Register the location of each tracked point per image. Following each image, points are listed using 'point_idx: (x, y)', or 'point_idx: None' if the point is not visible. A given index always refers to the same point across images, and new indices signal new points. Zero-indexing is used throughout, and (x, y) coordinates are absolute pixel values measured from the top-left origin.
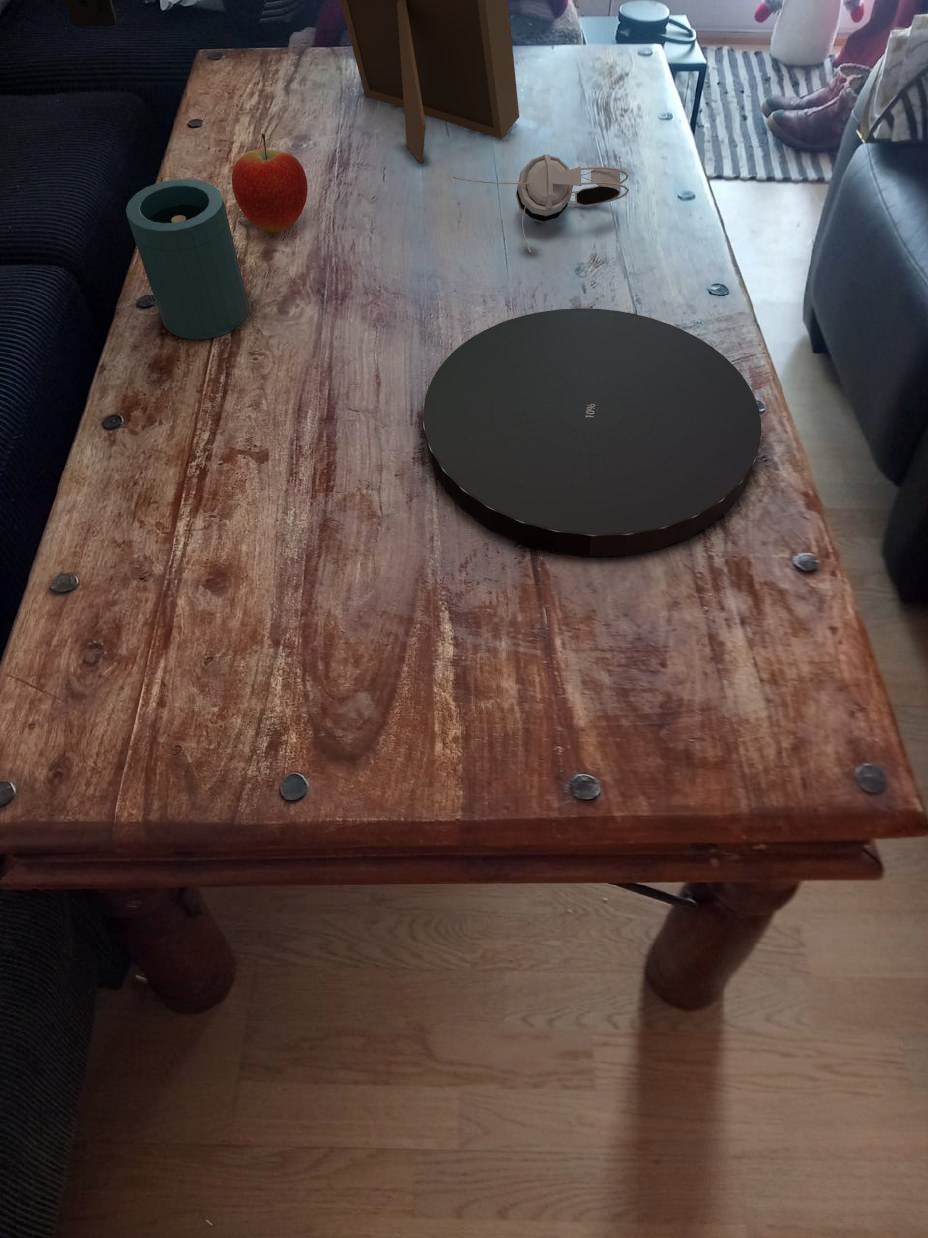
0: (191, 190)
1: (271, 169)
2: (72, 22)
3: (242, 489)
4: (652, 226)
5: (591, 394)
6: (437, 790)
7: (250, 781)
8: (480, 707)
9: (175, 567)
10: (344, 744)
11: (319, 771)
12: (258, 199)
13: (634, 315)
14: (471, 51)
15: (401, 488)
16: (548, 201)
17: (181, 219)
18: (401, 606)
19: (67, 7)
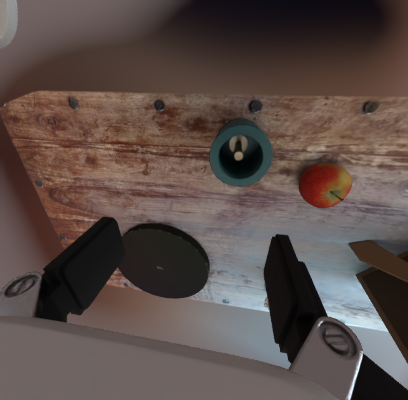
0: (259, 166)
1: (313, 196)
2: (104, 217)
3: (129, 166)
4: (264, 298)
5: (166, 269)
6: (51, 213)
7: (36, 173)
8: (73, 223)
9: (91, 145)
10: (54, 195)
11: (45, 189)
12: (302, 181)
13: (203, 286)
14: (391, 304)
15: (136, 214)
16: (265, 286)
17: (237, 158)
18: (95, 210)
19: (91, 227)
